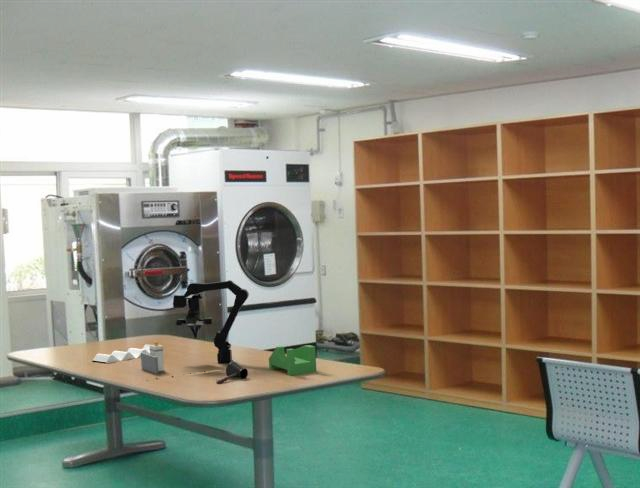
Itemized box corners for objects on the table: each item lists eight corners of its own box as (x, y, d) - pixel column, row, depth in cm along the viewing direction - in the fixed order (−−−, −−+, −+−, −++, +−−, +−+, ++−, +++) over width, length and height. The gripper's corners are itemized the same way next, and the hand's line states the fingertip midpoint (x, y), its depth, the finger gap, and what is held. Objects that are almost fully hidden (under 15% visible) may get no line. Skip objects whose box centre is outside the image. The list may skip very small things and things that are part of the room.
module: (158, 368, 414) (157, 340, 414) (164, 370, 408) (162, 342, 408) (150, 369, 412) (149, 341, 412) (156, 371, 406) (154, 343, 406)
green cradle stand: (316, 372, 388) (315, 346, 388) (290, 376, 382) (288, 350, 382) (294, 365, 409) (293, 341, 409) (269, 369, 403) (267, 344, 403)
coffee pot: (238, 374, 390) (250, 379, 384) (207, 386, 377) (219, 391, 372) (237, 359, 388) (249, 363, 382) (206, 370, 376) (218, 375, 370)
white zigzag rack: (91, 363, 456) (90, 353, 455) (145, 353, 481) (145, 344, 481) (104, 365, 446) (104, 355, 446) (159, 354, 472) (158, 345, 472)
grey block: (167, 367, 423) (166, 349, 423) (183, 372, 406) (181, 353, 406) (141, 371, 416) (140, 352, 416) (156, 376, 399) (155, 357, 399)
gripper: (171, 310, 422) (173, 341, 422) (207, 308, 419) (209, 340, 419) (178, 307, 433) (180, 338, 433) (213, 306, 430) (215, 336, 430)
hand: (196, 338), depth 429 cm, fingers closed
